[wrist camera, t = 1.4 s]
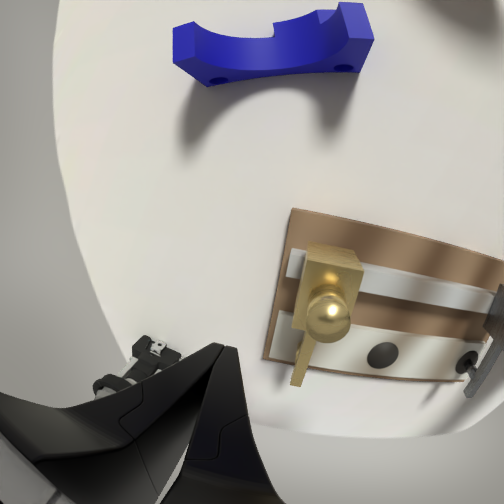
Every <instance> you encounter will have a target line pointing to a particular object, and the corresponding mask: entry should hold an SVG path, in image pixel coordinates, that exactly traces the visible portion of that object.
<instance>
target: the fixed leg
mask: <svg viewBox="0 0 504 504" xmlns="http://www.w3.org/2000/svg"><path fill="white" fill-rule="evenodd" d="M483 328H484V329H485V330H486V331H487V332H488V333H489V335H490V336H491V337H492V338H493V339H494V340H493V342H492V344H491V346H490V348H489V350H488V351H487V353H486V355H485V357H484V359H483V360H482V362H481V364H480V366H479V367H478V369H477V368H476V366H475V365H474V363H473V362H472V360H471V359H467V360H466V361H465V362H464V364H463V366H464V368H465V370H466V371H467V373H468V375H469V377H470V378H471V380H470V382H469V383H468V385H467V386H466V388H465V389H464V391H463V392H464V394H465V396H466V398H472V397H473V396H474V394H475V393H476V391H477V390H478V388H479V387H480V385H481V384H482V382H483V381H484V379H485V378H486V376H487V374H488V373H489V371H490V370H491V368H492V366H493V365H494V363H495V361H496V359H497V358H498V356H499V354H500V352H501V350H503V351H504V284H501V283H500V284H499V287H498V290H497V292H496V295H495V298H494V300H493V303H492V305H491V308H490V310H489V312H488V315H487V317H486V319H485V322H484V324H483Z"/></svg>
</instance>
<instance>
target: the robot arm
mask: <svg viewBox="0 0 504 504" xmlns="http://www.w3.org/2000/svg"><path fill="white" fill-rule="evenodd" d="M188 444H189V445H188ZM187 445H188V449H187V452H186V455H185V459H184V462H183V465H182V468H181V471H180V473H179V475H178V477H177V478H176V480H175V482H174V483H173V485H172V486H171V488H170V489H169V491H168V492H167V494H166V495H165V497H164V498H163V500H162V501H161V503H160V504H286V503H284V501H283V500H282V499H281V498H280V497H279V496H278V494H277V493H276V491H275V489H274V487H273V485H272V483H271V481H270V479H269V477H268V474H267V472H266V469H265V467H264V465H263V462H262V460H261V457H260V455H259V452H258V450H257V447H256V444H255V441H254V438H253V434H252V430H251V425H250V420H249V416H248V410H247V404H246V398H245V392H244V387H243V381H242V375H241V369H240V363H239V356H238V350H237V348H235V347H231V346H224V345H223V344H219V343H215V342H214V343H211V344H209V345H208V346H206V347H204V348H202V349H200V350H199V351H197V352H195V353H193V354H191V355H190V356H188V357H186V358H184V359H182V360H180V361H179V362H177V363H175V364H173V365H171V366H169V367H167V368H165V369H164V370H162V371H160V372H158V373H156V374H154V375H152V376H150V377H148V378H146V379H144V380H142V381H141V382H138V383H136V384H134V385H132V386H130V387H128V388H125V389H123V390H121V391H119V392H116V393H113V394H111V395H108V396H105V397H102V398H99V399H96V400H93V401H90V402H86V403H83V404H80V405H77V406H73V407H68V408H52V407H48V406H44V405H40V404H36V403H33V402H29V401H26V400H22V399H19V398H15V397H12V396H9V395H7V394H4V393H1V392H0V504H155V502H156V501H157V499H158V496H159V495H160V494H161V492H162V490H163V488H164V487H165V485H166V483H167V481H168V480H169V478H170V476H171V474H172V472H173V471H174V469H175V467H176V465H177V464H178V462H179V460H180V458H181V456H182V455H183V453H184V451H185V449H186V447H187Z"/></svg>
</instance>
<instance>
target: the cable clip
mask: <svg viewBox="0 0 504 504" xmlns="http://www.w3.org/2000/svg"><path fill="white" fill-rule="evenodd" d="M273 27H274V33H275V37H269V38H239V37H230V36H225V35H220V34H216V33H213V32H210V31H208V30H206V29H204V28H202V27H200V26H199V25H198V24H196V23H195V22H194V21H193V22H190V23H187V24H184V25H181V26H178V27H175V28H173V63H174V64H175V65H177V66H178V67H180V68H181V69H182V70H184V71H185V72H187V73H188V74H190V75H191V76H192V77H194V78H195V79H196V80H198V81H199V82H201V83H202V84H203V85H205V86H206V87H210V86H215V85H220V84H225V83H230V82H235V81H241V80H248V79H254V78H261V77H269V76H278V75H289V74H302V73H324V72H355V73H360V71H361V69H362V67H363V64H364V62H365V60H366V58H367V55H368V53H369V51H370V48H371V46H372V44H373V41H374V36H373V33H372V29H371V26H370V23H369V20H368V17H367V14H366V11H365V8H364V5H363V3H351V2H339V4H338V7H337V9H336V10H315V11H313V12H311V13H309V14H307V15H304V16H302V17H298V18H295V19H291V20H287V21H282V22H276V23H273Z"/></svg>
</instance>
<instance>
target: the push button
mask: <svg viewBox="0 0 504 504" xmlns="http://www.w3.org/2000/svg"><path fill="white" fill-rule="evenodd" d="M160 344H162V345H160ZM165 346H166V344H165V343H164V342H161V341H156V342H154V341H151V338H150V337H148V336H146V335H143V336H142V337H141V338H140V339H139V340H138V341H137V342H136V343H135V344H134V345H133V346H132V357H131V358H130V362H129V363H128V364H127V365H126V366H125V367H124V368H123V369H122V370H121V371H120V372H119V373H118V374H117V375H116V376H115V375H112V374H108V375H105V376H104V377H103V378H102V379H98V380H96V381H95V383H94V384H93V391H94V394H95V399H94V400H96V399H99V398H102V397H105V396H108V395H111V394H113V393H116V392H119V391H121V390H123V389H125V388H128V387H130V386H132V385H134V384H136V383H138V382H141V381H142V380H144V379H146V378H148V377H150V376H152V375H154V374H156V373H158V372H160V371H162V370H164V369H165V368H167V367H169V366H171V365H173V364H175V363H177V362H179V361H180V360H182V359H180V358H181V354H180V353H178V352H176V351H174V350H171V349H169V348H167V347H165Z"/></svg>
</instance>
